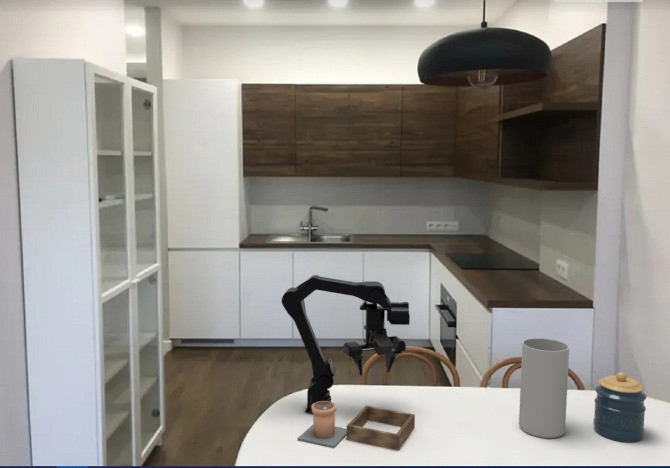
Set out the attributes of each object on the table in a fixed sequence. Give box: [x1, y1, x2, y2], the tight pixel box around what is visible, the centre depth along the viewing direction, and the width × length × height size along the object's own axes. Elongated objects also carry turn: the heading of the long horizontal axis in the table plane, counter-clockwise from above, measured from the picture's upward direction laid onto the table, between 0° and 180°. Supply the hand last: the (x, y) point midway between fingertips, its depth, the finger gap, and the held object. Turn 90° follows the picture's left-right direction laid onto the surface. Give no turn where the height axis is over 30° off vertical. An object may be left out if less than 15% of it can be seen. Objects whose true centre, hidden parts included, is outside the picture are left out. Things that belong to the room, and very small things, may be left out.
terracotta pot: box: [312, 401, 337, 438], centre depth 159 cm, size 7×7×8 cm
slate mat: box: [297, 424, 347, 449], centre depth 160 cm, size 11×11×1 cm
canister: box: [593, 371, 647, 443], centre depth 162 cm, size 13×13×18 cm
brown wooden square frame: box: [345, 405, 416, 451], centre depth 161 cm, size 15×15×4 cm
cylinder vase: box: [518, 337, 570, 439], centre depth 164 cm, size 12×12×25 cm
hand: (374, 374), depth 175 cm, fingers open, 9 cm apart
